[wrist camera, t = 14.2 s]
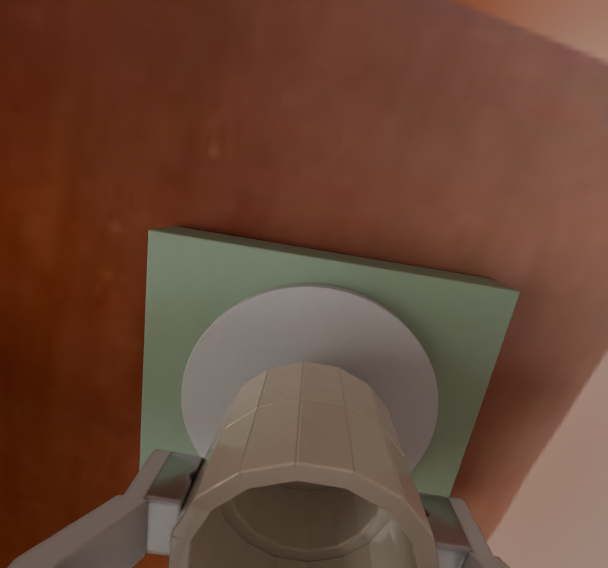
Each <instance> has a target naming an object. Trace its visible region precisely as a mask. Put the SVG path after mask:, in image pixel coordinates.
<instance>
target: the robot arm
mask: <svg viewBox="0 0 608 568" xmlns="http://www.w3.org/2000/svg"><path fill="white" fill-rule="evenodd" d="M203 460H204V458H203V457H198V456H193V455H188V454H183V453H177V452H170V451H165V450H160V449H156V450H154V451H153V452H152V453H151V455H150V456H149V458H148V459H147V461H146V462H145V464H144V465H143V467H142V468H141V470H140V471H139V473H138V474H137V475H136V477H135V478H134V480H133V481H132V483H131V484H130V486H129V487H128V489H127V490H126V492H125V493H124V495H117V496H115V497H114V498H112V499H110V500H109V501H107V502H105V503H104V504H102V505H101V506H99V507H97V508H96V509H94V510H92V511H91V512H89V513H88V514H86V515H84V516H83V517H81V518H80V519H78V520H76V521H75V522H73V523H71V524H70V525H68V526H67V527H65V528H63V529H62V530H60V531H59V532H57V533H55V534H54V535H52V536H50V537H49V538H47V539H46V540H44V541H42V542H41V543H39V544H38V545H36V546H34V547H33V548H31V549H29V550H28V551H26V552H25V553H23V554H21V555H20V556H18V557H17V558H15V559H14V560H13V561H12V562H11V564H10V565H9V566H8V567H7V568H132V567H134V566H135V565H136V564H137V563H138V562H139V561H140V560H141V559H142V558H143V557H144V556H145V553H151V554H159V555H167V556H169V552H170V538H171V533H172V530H173V527H174V525H175V523H176V521H177V518H178V516H179V514H180V512H181V509H182V507H183V505H184V503H185V501H186V498H187V496H188V494H189V492H190V489H191V487H192V485H193V482H194V480H195V478H196V476H197V474H198V471H199V469H200V467H201V465H202V462H203ZM418 493H419V496H420V499H421V502H422V505H423V507H424V510H425V513H426V516H427V519H428V521H429V524H430V527H431V530H432V532H433V535H434V539H435V545H436V550H437V556H438V561H439V567H440V568H510V567H509V566H507V564H506V563H504V562H503V561H502V560H501V559H500V558H499V557H497V556H493V554H492V552H491V550H490V548H489V546H488V544H487V543H486V541H485V539H484V537H483V535H482V533H481V531H480V529H479V527H478V525H477V523H476V521H475V519H474V517H473V515H472V514H471V512H470V510H469V508H468V506H467V504H466V502H465V501H464V500H463V499H459V498H453V497H444V496H440V495H433V494H427V493H420V492H418Z"/></svg>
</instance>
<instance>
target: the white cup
mask: <svg viewBox="0 0 608 568" xmlns="http://www.w3.org/2000/svg"><path fill="white" fill-rule="evenodd" d="M168 568H440V567H439V561H438V556H437V550H436V545H435V539H434V535H433V532H432V530H431V527H430V524H429V521H428V519H427V516H426V513H425V510H424V507H423V505H422V502H421V499H420V496H419V493H418V491H417V488H416V485H415V482H414V480H413V477H412V474H411V471H410V468H409V466H408V463H407V461H406V457H405V455H404V452H403V449H402V446H401V443H400V441H399V438H398V435H397V432H396V430H395V427H394V424H393V421H392V418H391V416H390V413H389V411H388V409H387V407H386V406H385V405H384V403H383V402H382V401H381V399H380V398H379V397H378V395H377V394H376V393H375V391H374V390H373V389H372V387H371V386H369V385H368V384H367V383H365V382H364V381H362V380H360V379H358V378H357V377H355V376H353V375H352V374H350V373H348V372H346V371H345V370H343V369H341V368H339V367H335V366H329V365H323V364H317V363H311V362H299V363H294V364H289V365H284V366H279V367H274V368H270V369H268V370H266V371H264V372H263V373H261V374H260V375H258V376H257V377H255V378H254V379H252V380H251V381H249V382H247V383H246V384H244V385H243V386H242V387H241V388H240V389H239V391H238V392H237V394H236V395H235V397H234V398H233V400H232V402H231V403H230V405H229V406H228V408H227V409H226V411H225V413H224V415H223V418H222V420H221V422H220V424H219V427H218V429H217V431H216V433H215V436H214V438H213V440H212V442H211V445H210V447H209V449H208V451H207V454H206V456H205V458H204V460H203V462H202V465H201V467H200V469H199V471H198V474H197V476H196V478H195V480H194V482H193V485H192V487H191V489H190V492H189V494H188V496H187V498H186V501H185V503H184V505H183V507H182V509H181V512H180V514H179V516H178V518H177V521H176V523H175V525H174V527H173V530H172V533H171V538H170V552H169V566H168Z"/></svg>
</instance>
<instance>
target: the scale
mask: <svg viewBox="0 0 608 568" xmlns="http://www.w3.org/2000/svg"><path fill="white" fill-rule="evenodd" d="M519 294H520V292H519V291H518V290H516V289H513V288H511V287H508V286H506V285H503V284H501V283H499V282H496V281H494V280H491V279H489V278H484V277H478V276H472V275H466V274H460V273H454V272H448V271H442V270H436V269H430V268H424V267H418V266H412V265H406V264H400V263H394V262H388V261H382V260H376V259H370V258H364V257H358V256H352V255H346V254H340V253H334V252H328V251H322V250H316V249H310V248H304V247H298V246H292V245H286V244H280V243H274V242H267V241H261V240H255V239H249V238H243V237H237V236H231V235H225V234H219V233H213V232H207V231H201V230H195V229H189V228H183V227H177V226H173V227H166V228H158V229H151V230H149V231H148V257H147V284H146V310H145V336H144V362H143V388H142V415H141V441H140V467H139V471H140V470H141V468H142V467H143V465H144V464H145V462H146V461H147V459H148V458H149V456H150V455H151V453H152V452H153V451H154V450H156V449H160V450H165V451H170V452H177V453H183V454H188V455H193V456H198V457H203V458H205V456H206V454H207V451H208V449H209V447H210V445H211V442H212V440H213V438H214V436H215V433H216V431H217V429H218V427H219V424H220V422H221V420H222V418H223V415H224V413H225V411H226V409H227V408H228V406H229V405H230V403H231V402H232V400H233V398H234V397H235V395H236V394H237V392H238V391H239V389H240V388H241V387H242V386H243V385H244V384H246V383H247V382H249V381H251V380H252V379H254V378H255V377H257V376H258V375H260V374H261V373H263V372H264V371H266V370H268V369H270V368H274V367H279V366H284V365H289V364H294V363H299V362H311V363H317V364H323V365H329V366H335V367H339V368H341V369H343V370H345V371H346V372H348V373H350V374H352V375H353V376H355V377H357V378H358V379H360V380H362V381H364V382H365V383H367V384H368V385H369V386H371V387H372V389H373V390H374V391H375V393H376V394H377V395H378V397H379V398H380V399H381V401H382V402H383V403H384V405H385V406H386V407H387V409H388V411H389V413H390V416H391V418H392V421H393V424H394V427H395V430H396V432H397V435H398V438H399V441H400V443H401V446H402V449H403V452H404V455H405V457H406V461H407V463H408V466H409V468H410V471H411V474H412V477H413V480H414V482H415V485H416V488H417V491H418V492H420V493H427V494H433V495H440V496H444V497H450V494H451V491H452V488H453V485H454V482H455V479H456V476H457V474H458V471H459V468H460V465H461V462H462V459H463V456H464V453H465V450H466V448H467V445H468V442H469V439H470V436H471V433H472V430H473V427H474V424H475V421H476V419H477V416H478V413H479V410H480V407H481V404H482V401H483V398H484V395H485V392H486V390H487V387H488V384H489V381H490V378H491V375H492V372H493V369H494V366H495V363H496V361H497V358H498V355H499V352H500V349H501V346H502V343H503V340H504V337H505V334H506V332H507V329H508V326H509V323H510V320H511V317H512V314H513V311H514V308H515V306H516V303H517V300H518V297H519Z"/></svg>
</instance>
